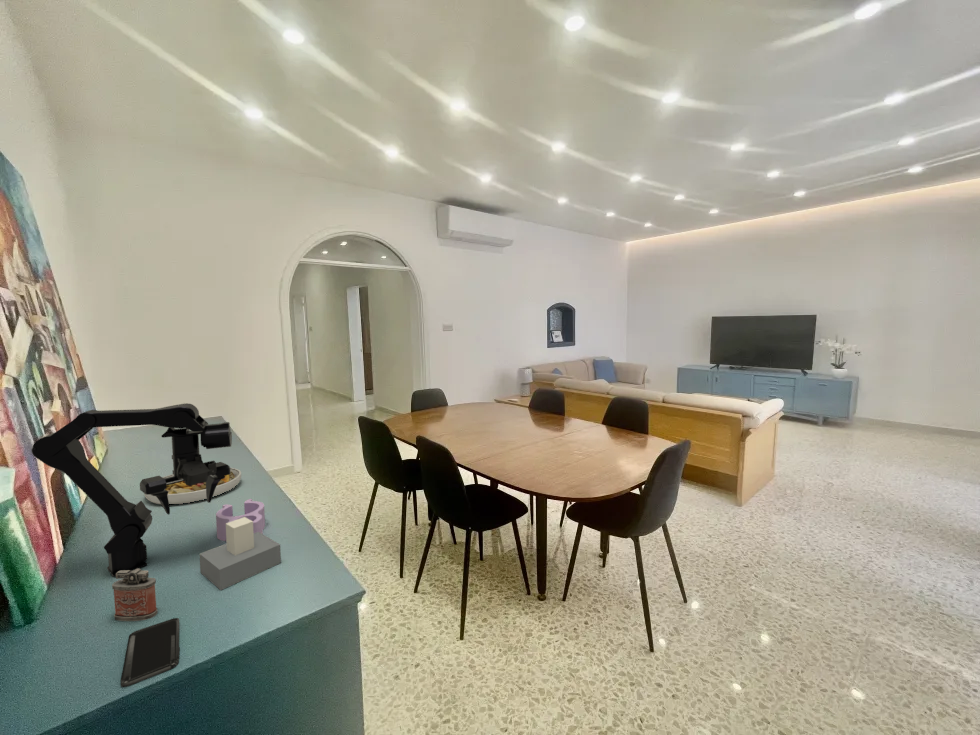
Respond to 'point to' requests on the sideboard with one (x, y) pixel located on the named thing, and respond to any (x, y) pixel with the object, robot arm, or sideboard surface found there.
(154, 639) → the phone
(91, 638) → the sideboard surface
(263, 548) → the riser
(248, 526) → the block
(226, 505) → the clip
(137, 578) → the lighter
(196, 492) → the bowl
